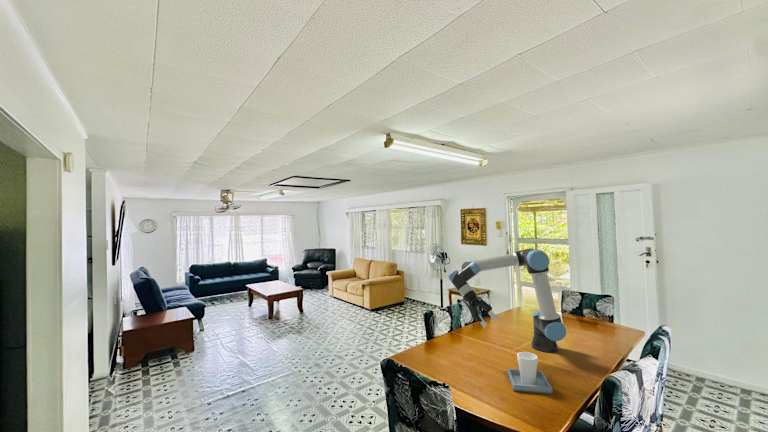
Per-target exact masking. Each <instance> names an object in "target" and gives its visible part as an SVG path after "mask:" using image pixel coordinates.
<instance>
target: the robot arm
mask: <svg viewBox="0 0 768 432" xmlns="http://www.w3.org/2000/svg"><path fill="white" fill-rule="evenodd" d="M549 265H550V258H549V256H548V254H547V253H546V252H544V251H543V250H540V249H534V248H525V249H521V250H518V251H513V252H512V253H510V254H506V255H500V256H494V257H490V258H484V259H483V258H482V259H479V260H473V261H464V262H463V263H462V264H461V270H457V269H455V270H453V271H451V272H449V275H448V280H450V282H451V284H452V285H453V286H454V287H455V288H456V290H457V291H458V292H459V294H460V295H461V296H462V297H463V299H464V300H465V304H466V306H467V308H468V310H469V313H470V315H471V317H472V318H473V319H476V320H477V321H478V323H479V324H480V325H481V326H482V327H483V328H484V329H485V328H486V327H487V326H488V323H487V322H486V321H485V320H484V318H483V317H482V316H481V315H479V312H478V308H481V309H482V310H484V311H486V312H487V314H488V315H489V316H490V318H491V319H492V320H493V322H494V323H497V322H498V321H499V318H498V316H497V315H496V314H495V313H494V311H493V307H492V306H491V305H490V303H489V304H488V303H487V302H486V301H485V300H484V299H482V297H481V296H478V297H477V295H478V294H477V293H476V292H475V290H473V288H472V287H471V285H470V284H469V283H468V281H470V280H471V279H472V278H474V277H475V276H476V275H478V274H479V273H480V272H486V271H491V270H496V269H504V268H508V267H513V266H516V267H526V269H527V273H528V274H529V275H530V276H531V278H532V282H533V286H534V291H535V296H536V300H537V304H538V307H539V308H538V309H539V310H535V311H533V314H532V317H533V318H532V319H533V321H532V322H533V336H532V340H531V348H533V349H534V350H536V351H538V352H539V351H540V352H544V353H545V352H546V353H553V352H554V353H555V352H557V351H558V350H559V345H558V343H557V342H560V341H562V340H564V339H565V337H566V336H567V328H566V326H565V325H564V324H563V322H562V318H561V314H559V313H558V312H557V310H556V305H555V301H554V298H553V293H552V289H551V288H552V287H551V285H550V280H549V275H548V273H549V271H550V269H549Z"/></svg>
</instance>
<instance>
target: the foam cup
mask: <svg viewBox="0 0 768 432" xmlns="http://www.w3.org/2000/svg"><path fill="white" fill-rule="evenodd" d="M516 359H517V363H518V364H517V365H518V369H519V370H520V376H521V382H522V383H524V384H526V385H534V384H535V381H536V371H538V370H537V369H538V363H539V359H538V355H536V354H535V353H532V352H528V351H519V352H517V353H516Z"/></svg>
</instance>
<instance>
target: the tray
mask: <svg viewBox="0 0 768 432" xmlns="http://www.w3.org/2000/svg"><path fill="white" fill-rule="evenodd" d="M506 371H507V373H506V375H507V377H508V379H509V383H510V385H511V387H512V390H513V392H520V393H521V392H522V393H532V394H543V395H545V394H546V395H553V394H554V393H553V386H552V385H551V384H550V382H549V380H548V378H547V376H545V373H543V371H542V370H537V371H536V381H535V384H534V385H526V384H524V383H522V382H521V376H520V370H519V368H518V369H516V368H506Z"/></svg>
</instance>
